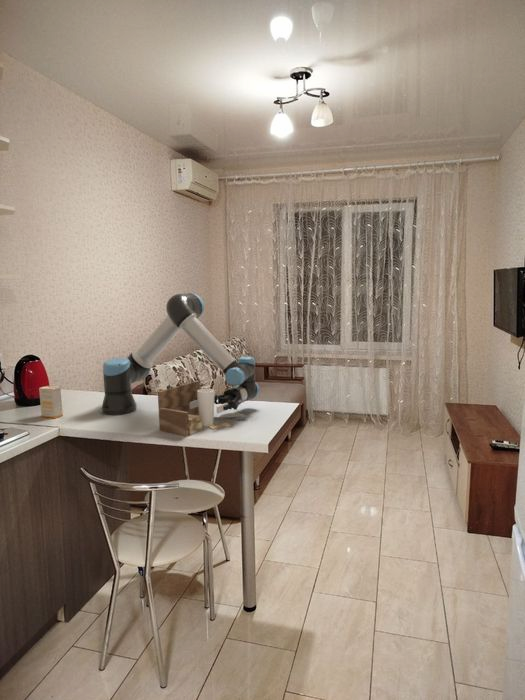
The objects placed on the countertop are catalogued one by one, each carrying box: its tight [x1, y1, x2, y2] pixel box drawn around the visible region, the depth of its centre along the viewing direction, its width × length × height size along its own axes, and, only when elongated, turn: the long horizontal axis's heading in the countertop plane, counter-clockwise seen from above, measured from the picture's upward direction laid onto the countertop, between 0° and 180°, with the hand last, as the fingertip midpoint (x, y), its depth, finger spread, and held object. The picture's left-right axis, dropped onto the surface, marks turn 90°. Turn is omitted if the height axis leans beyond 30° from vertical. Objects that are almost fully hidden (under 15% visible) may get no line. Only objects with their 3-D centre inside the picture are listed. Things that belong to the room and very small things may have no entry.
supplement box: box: [38, 385, 64, 419], centre depth 208 cm, size 8×5×13 cm, turn 65°
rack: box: [157, 380, 204, 437], centre depth 188 cm, size 24×15×16 cm, turn 148°
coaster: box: [218, 412, 246, 422], centre depth 202 cm, size 11×11×1 cm
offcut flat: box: [207, 422, 232, 431], centre depth 186 cm, size 8×4×2 cm, turn 119°
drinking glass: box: [197, 388, 215, 427], centre depth 189 cm, size 7×7×15 cm
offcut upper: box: [188, 414, 200, 426], centre depth 180 cm, size 6×5×2 cm
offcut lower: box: [189, 422, 203, 436], centre depth 181 cm, size 7×6×3 cm
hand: (203, 407), depth 187 cm, fingers open, 13 cm apart
